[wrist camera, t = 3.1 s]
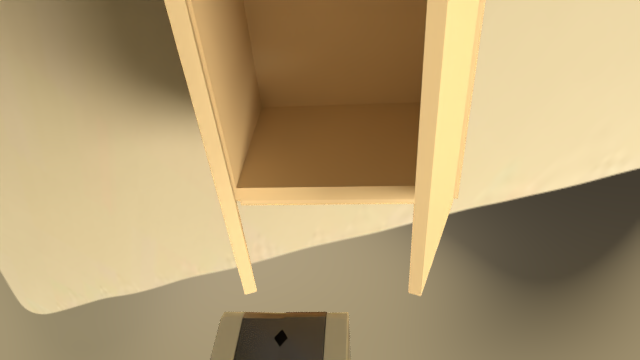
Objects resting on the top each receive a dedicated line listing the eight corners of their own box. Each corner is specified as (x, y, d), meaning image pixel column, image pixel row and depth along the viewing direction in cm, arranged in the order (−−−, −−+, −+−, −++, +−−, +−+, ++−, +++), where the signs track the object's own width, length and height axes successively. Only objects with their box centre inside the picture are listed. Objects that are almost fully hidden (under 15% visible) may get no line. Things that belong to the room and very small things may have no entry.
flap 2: (503, -184, 16) (463, -163, 11) (452, 202, 27) (420, 296, 22) (485, -182, 17) (437, -161, 12) (441, 200, 28) (408, 292, 23)
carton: (465, -212, 24) (515, -213, 16) (436, 116, 36) (456, 205, 28) (195, -187, 25) (121, -176, 18) (253, 121, 37) (224, 207, 30)
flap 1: (149, -153, 18) (150, -137, 12) (236, 202, 29) (257, 291, 23) (132, -151, 18) (127, -134, 12) (226, 204, 29) (244, 294, 23)
